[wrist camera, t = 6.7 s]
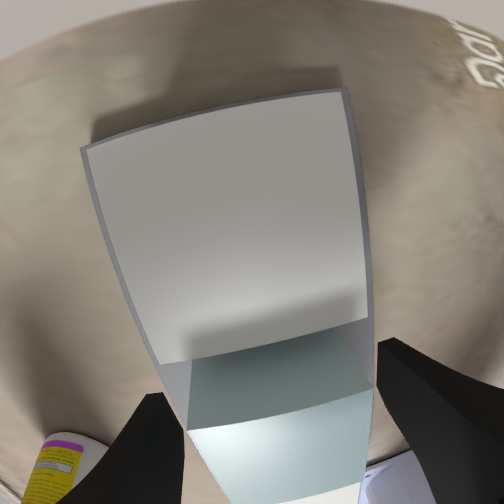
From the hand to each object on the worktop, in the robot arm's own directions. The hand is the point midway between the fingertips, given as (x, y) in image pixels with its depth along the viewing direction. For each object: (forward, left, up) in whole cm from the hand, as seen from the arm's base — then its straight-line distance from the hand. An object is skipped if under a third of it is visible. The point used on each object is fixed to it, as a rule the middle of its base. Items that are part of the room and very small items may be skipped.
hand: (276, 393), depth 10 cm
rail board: (-2, 0, -5) cm, 5 cm away
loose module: (0, 0, -3) cm, 3 cm away
